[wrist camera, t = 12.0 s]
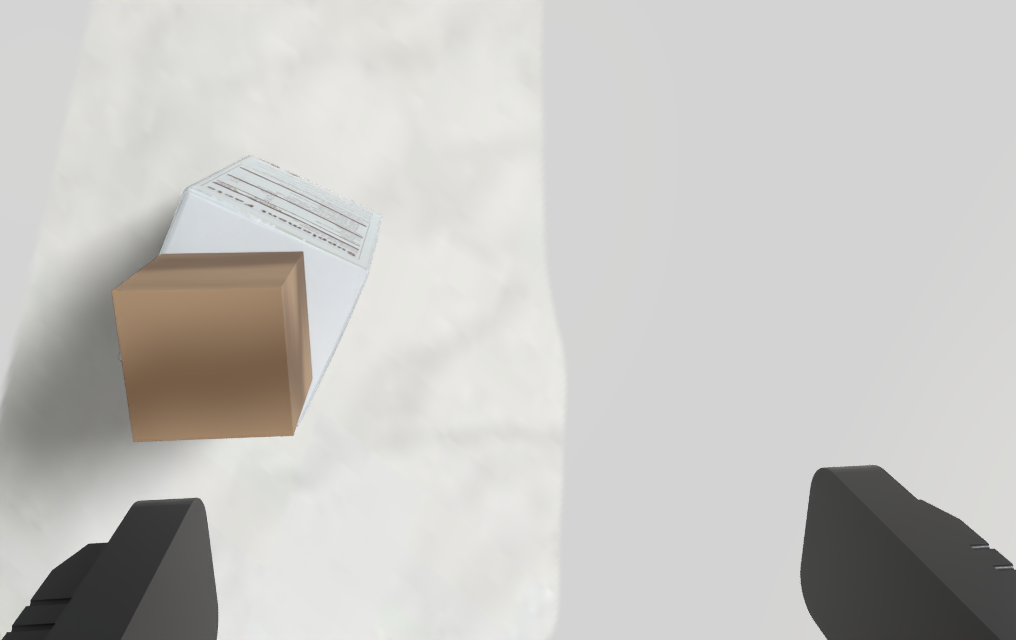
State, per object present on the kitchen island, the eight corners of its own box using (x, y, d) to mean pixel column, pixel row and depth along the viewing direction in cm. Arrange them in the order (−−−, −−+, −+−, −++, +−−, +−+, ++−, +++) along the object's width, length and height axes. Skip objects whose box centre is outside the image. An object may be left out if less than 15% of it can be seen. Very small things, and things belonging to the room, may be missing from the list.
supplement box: (329, 335, 44) (295, 437, 32) (196, 276, 42) (107, 361, 30) (388, 212, 42) (375, 272, 30) (251, 147, 41) (180, 182, 29)
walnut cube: (161, 253, 29) (111, 291, 25) (303, 251, 30) (281, 287, 25) (178, 383, 31) (133, 441, 26) (312, 378, 31) (293, 435, 27)
